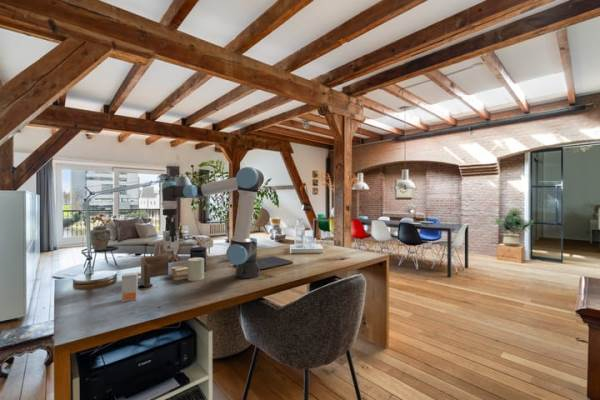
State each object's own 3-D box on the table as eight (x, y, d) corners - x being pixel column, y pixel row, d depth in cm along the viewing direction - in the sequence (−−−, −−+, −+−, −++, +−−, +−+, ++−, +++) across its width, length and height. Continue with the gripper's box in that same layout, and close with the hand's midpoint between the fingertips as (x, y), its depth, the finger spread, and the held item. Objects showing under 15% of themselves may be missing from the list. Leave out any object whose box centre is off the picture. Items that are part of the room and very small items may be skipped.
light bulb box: (178, 250, 162) (178, 231, 161) (165, 251, 158) (165, 232, 158) (175, 247, 170) (174, 230, 170) (163, 249, 167) (162, 230, 167)
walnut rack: (174, 282, 157) (174, 261, 156) (144, 287, 148) (144, 265, 148) (168, 273, 175) (168, 254, 175) (141, 277, 167) (140, 257, 167)
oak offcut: (189, 278, 166) (189, 273, 166) (174, 281, 162) (174, 275, 162) (185, 274, 174) (185, 270, 174) (171, 276, 170) (171, 271, 170)
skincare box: (121, 302, 128) (121, 276, 128) (123, 299, 132) (122, 273, 132) (136, 300, 130) (136, 274, 130) (138, 297, 134) (137, 272, 134)
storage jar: (209, 269, 185) (208, 247, 184) (202, 274, 175) (202, 250, 175) (194, 269, 186) (194, 246, 185) (187, 273, 176) (187, 249, 176)
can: (198, 281, 159) (198, 260, 159) (184, 280, 161) (184, 259, 161) (207, 276, 168) (207, 256, 168) (193, 276, 170) (193, 256, 170)
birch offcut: (189, 273, 167) (189, 268, 167) (177, 275, 162) (177, 270, 162) (182, 270, 174) (182, 265, 174) (171, 272, 169) (171, 267, 169)
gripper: (159, 208, 171) (160, 244, 171) (166, 209, 152) (167, 249, 152) (172, 207, 176) (173, 243, 176) (181, 208, 157) (182, 248, 157)
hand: (170, 246), depth 164 cm, fingers closed on light bulb box, 11 cm apart
